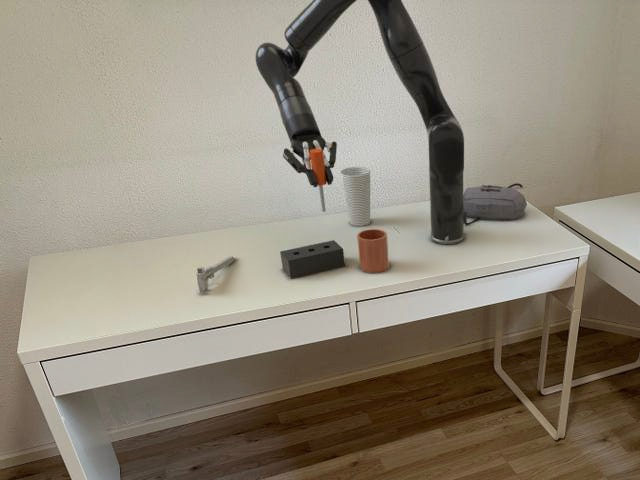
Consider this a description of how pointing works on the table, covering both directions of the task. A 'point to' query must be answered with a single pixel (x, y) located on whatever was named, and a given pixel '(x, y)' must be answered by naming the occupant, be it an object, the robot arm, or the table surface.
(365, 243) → the pen cup
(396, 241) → the table surface
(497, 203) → the soft grey pack
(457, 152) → the robot arm
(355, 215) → the cup
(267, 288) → the table surface
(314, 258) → the holder
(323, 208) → the orange screwdriver
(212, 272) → the caliper
